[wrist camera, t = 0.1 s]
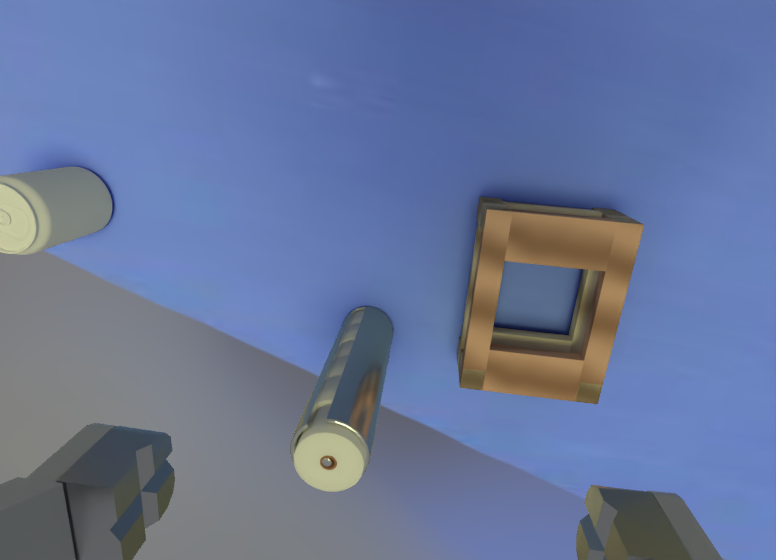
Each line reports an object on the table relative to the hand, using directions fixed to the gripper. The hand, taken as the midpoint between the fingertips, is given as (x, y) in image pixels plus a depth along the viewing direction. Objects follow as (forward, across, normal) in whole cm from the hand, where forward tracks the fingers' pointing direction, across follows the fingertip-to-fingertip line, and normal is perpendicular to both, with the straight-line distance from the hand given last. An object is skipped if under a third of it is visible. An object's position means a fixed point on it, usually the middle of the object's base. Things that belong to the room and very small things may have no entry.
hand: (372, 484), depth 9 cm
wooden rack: (+48, -14, +11) cm, 51 cm away
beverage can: (+48, +41, +6) cm, 64 cm away
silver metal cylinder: (+48, +5, +19) cm, 52 cm away
